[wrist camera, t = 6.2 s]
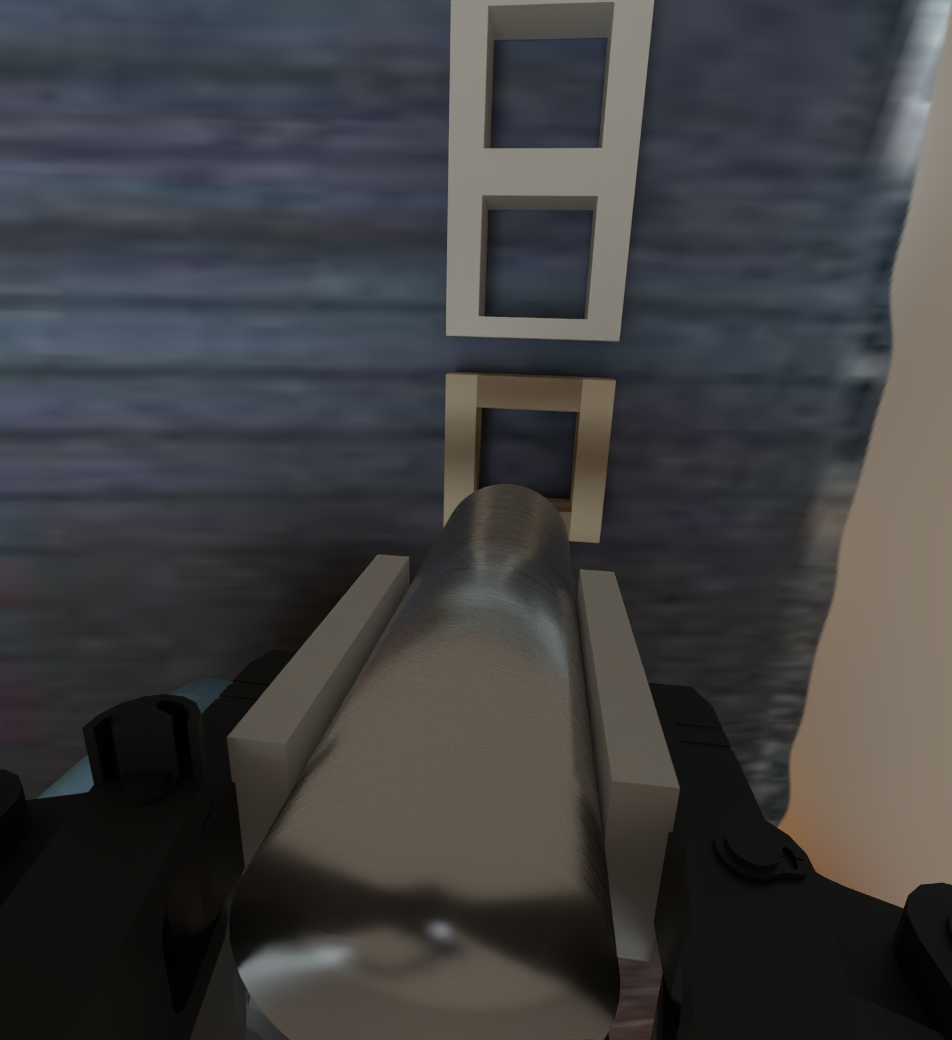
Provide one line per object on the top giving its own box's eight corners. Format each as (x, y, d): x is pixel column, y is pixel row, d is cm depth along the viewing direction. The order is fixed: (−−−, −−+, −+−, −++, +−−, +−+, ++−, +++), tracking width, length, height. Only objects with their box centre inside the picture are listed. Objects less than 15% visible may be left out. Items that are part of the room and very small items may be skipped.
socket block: (594, 527, 35) (599, 543, 32) (451, 517, 36) (443, 532, 33) (610, 377, 32) (615, 380, 29) (454, 371, 33) (445, 374, 30)
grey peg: (590, 572, 18) (686, 1064, 6) (480, 619, 19) (355, 1129, 7) (533, 462, 17) (501, 751, 5) (422, 517, 18) (154, 877, 6)
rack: (612, 341, 32) (619, 341, 29) (454, 336, 33) (445, 335, 30) (645, 12, 27) (656, -28, 24) (461, 17, 28) (451, -21, 25)
